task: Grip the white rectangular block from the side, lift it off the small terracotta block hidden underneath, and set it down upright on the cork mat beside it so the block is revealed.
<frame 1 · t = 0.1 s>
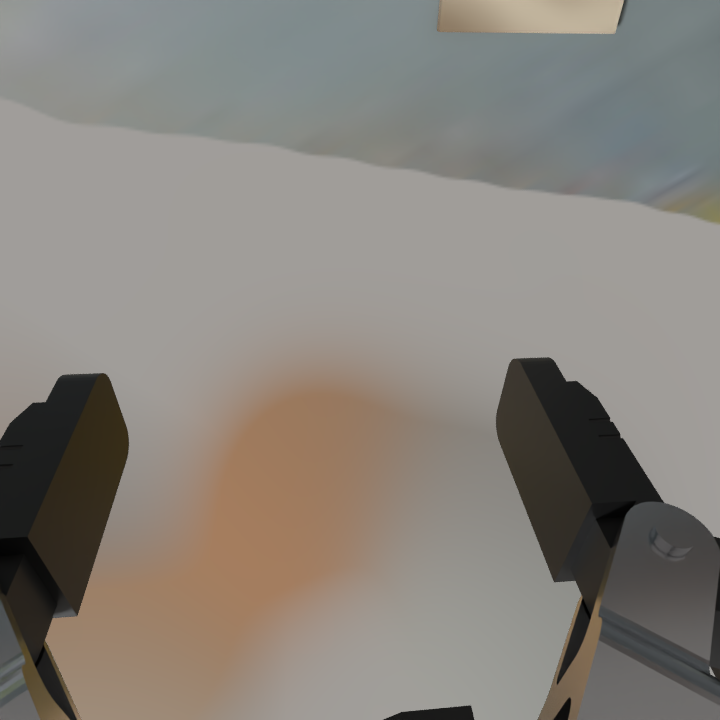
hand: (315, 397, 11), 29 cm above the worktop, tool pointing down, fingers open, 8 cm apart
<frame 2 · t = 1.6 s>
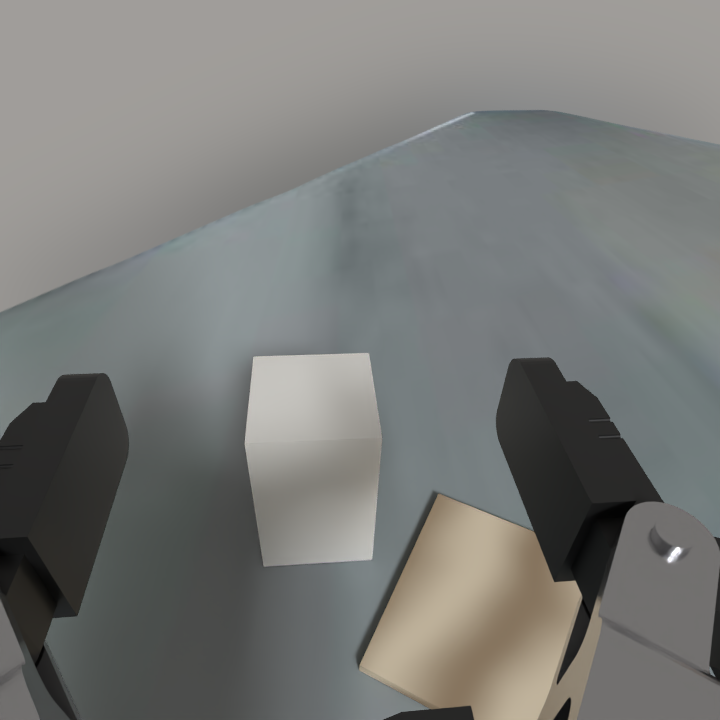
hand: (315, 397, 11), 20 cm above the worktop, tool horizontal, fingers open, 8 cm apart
cork mat: (502, 619, 28), on the worktop
white rectangular block: (316, 516, 32), on the worktop
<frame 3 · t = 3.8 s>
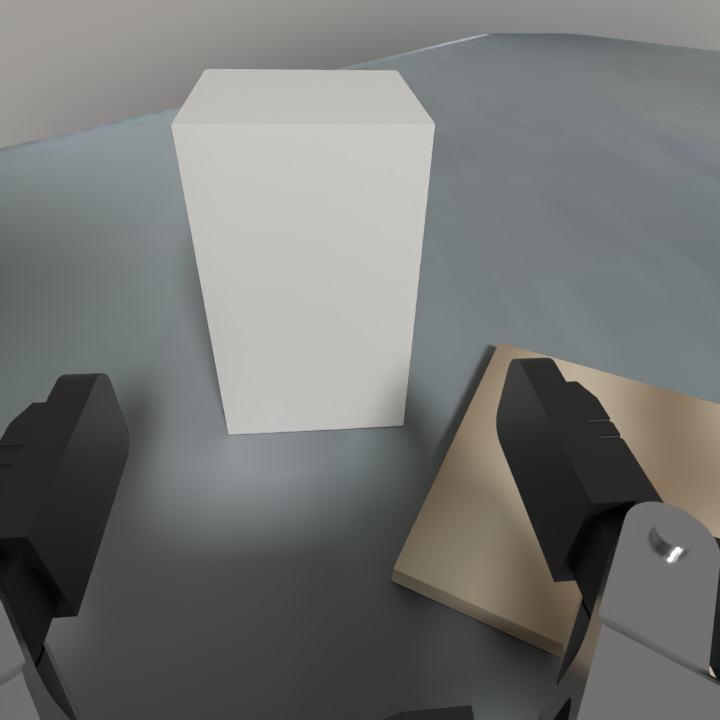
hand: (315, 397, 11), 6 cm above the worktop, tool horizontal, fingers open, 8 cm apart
cork mat: (627, 503, 16), on the worktop
white rectangular block: (314, 374, 21), on the worktop
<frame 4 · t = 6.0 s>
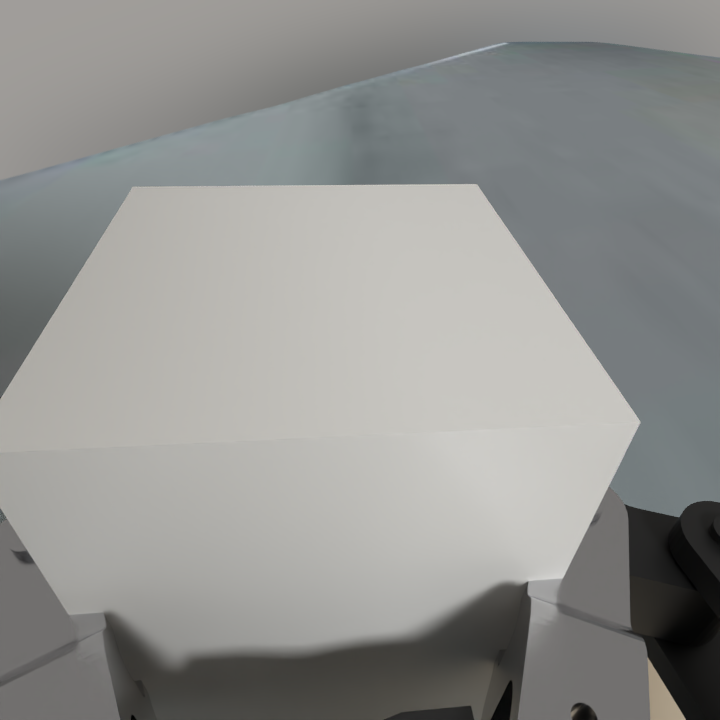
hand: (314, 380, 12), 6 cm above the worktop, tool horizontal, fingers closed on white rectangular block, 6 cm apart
white rectangular block: (324, 626, 13), on the worktop, touching gripper
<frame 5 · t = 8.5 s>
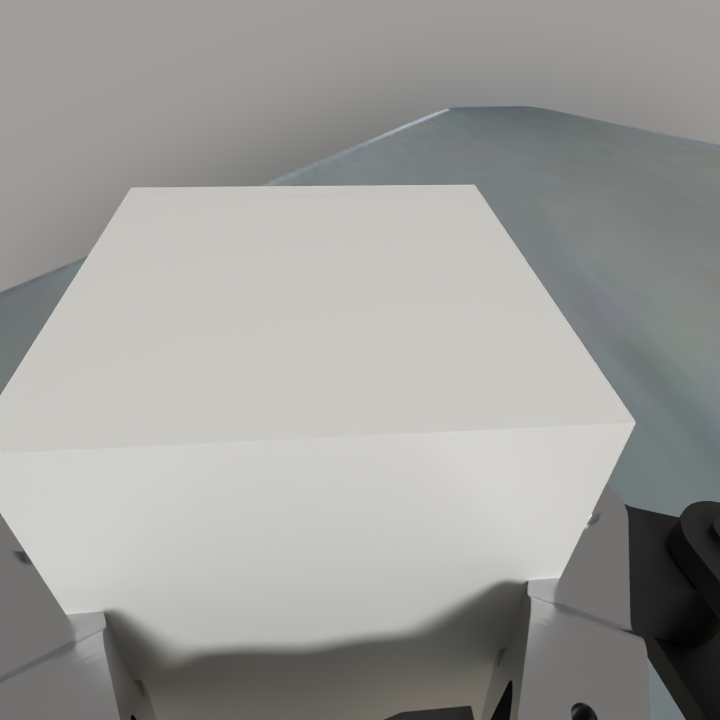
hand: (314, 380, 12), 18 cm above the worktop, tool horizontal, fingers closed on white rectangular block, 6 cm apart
white rectangular block: (323, 626, 13), point 12 cm above the worktop, touching gripper
when the fingers open (8 cm above the worktop, at t = 11.2 s): white rectangular block drops 1 cm, resting on cork mat.
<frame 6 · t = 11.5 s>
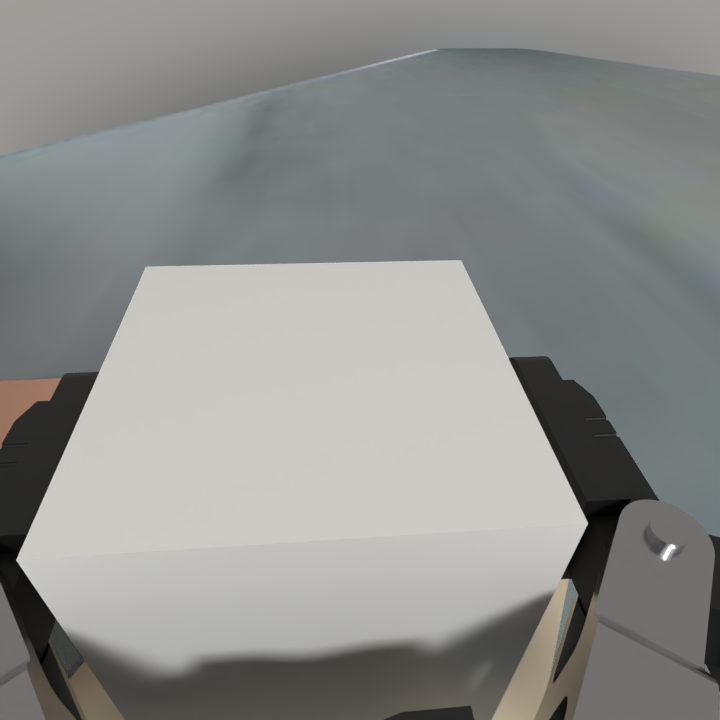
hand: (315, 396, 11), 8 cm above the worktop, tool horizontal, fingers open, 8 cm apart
cork mat: (325, 663, 15), on the worktop
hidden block: (37, 452, 18), on the worktop
white rectangular block: (322, 655, 14), point 1 cm above the worktop, touching cork mat
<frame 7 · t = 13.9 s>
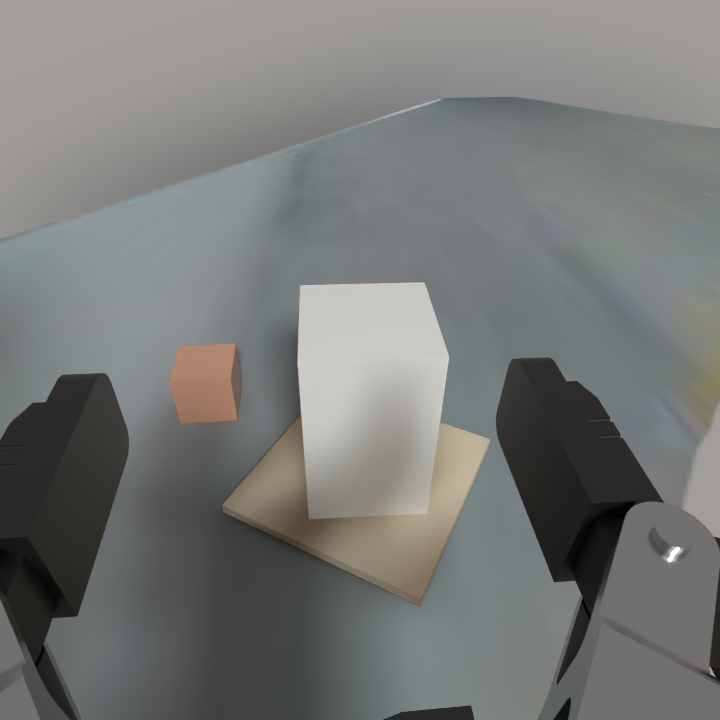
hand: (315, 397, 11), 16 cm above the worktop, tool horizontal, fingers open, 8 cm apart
cork mat: (364, 477, 30), on the worktop
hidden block: (208, 383, 34), on the worktop
white rectangular block: (363, 470, 30), point 1 cm above the worktop, touching cork mat
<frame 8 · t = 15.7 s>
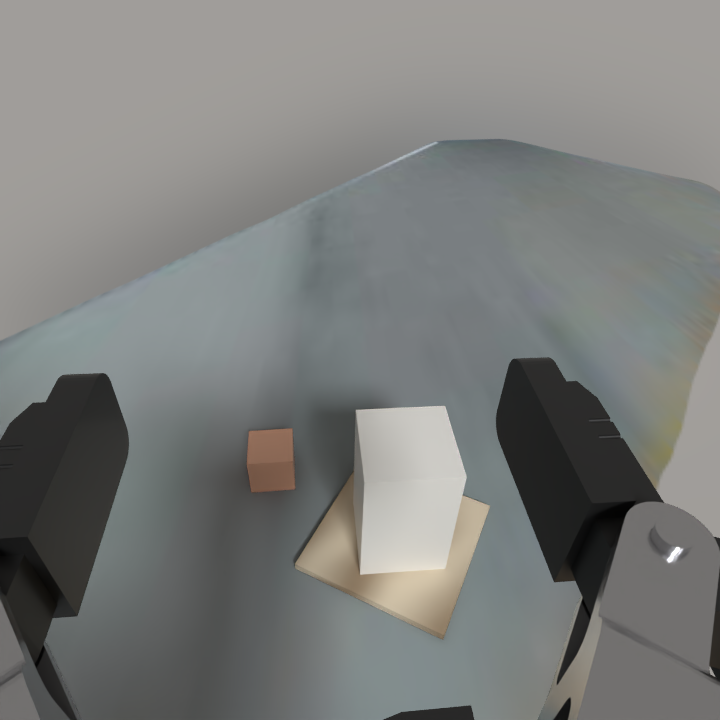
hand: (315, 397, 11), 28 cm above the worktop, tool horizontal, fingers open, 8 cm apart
cork mat: (397, 538, 40), on the worktop
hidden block: (272, 460, 44), on the worktop
white rectangular block: (396, 533, 40), point 1 cm above the worktop, touching cork mat
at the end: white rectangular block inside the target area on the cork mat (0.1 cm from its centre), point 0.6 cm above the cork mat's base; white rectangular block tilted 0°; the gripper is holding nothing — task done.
